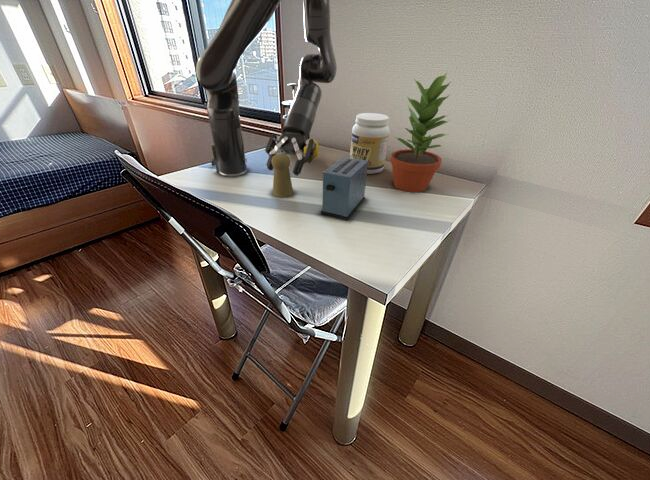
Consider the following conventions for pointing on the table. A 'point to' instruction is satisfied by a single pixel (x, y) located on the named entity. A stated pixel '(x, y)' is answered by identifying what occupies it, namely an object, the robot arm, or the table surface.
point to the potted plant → (420, 141)
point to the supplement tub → (370, 140)
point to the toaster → (344, 187)
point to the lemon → (314, 151)
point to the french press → (289, 103)
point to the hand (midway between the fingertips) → (282, 171)
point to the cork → (281, 176)
